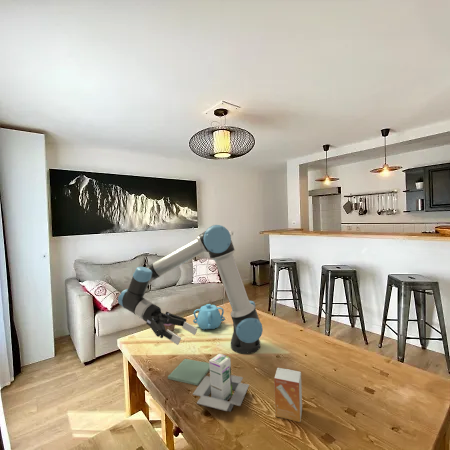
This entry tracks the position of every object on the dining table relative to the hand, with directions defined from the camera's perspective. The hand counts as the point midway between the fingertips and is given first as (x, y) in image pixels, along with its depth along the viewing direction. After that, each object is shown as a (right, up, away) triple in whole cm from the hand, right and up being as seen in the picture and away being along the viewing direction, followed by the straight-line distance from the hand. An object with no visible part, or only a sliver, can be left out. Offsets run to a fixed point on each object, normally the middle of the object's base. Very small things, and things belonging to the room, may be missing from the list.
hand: (188, 336), depth 100 cm
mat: (0, -19, +8) cm, 21 cm away
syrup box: (+14, -19, -8) cm, 25 cm away
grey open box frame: (+13, -19, -8) cm, 25 cm away
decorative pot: (+5, -18, +54) cm, 58 cm away
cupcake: (-18, -19, +50) cm, 57 cm away
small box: (+36, -18, -17) cm, 44 cm away
